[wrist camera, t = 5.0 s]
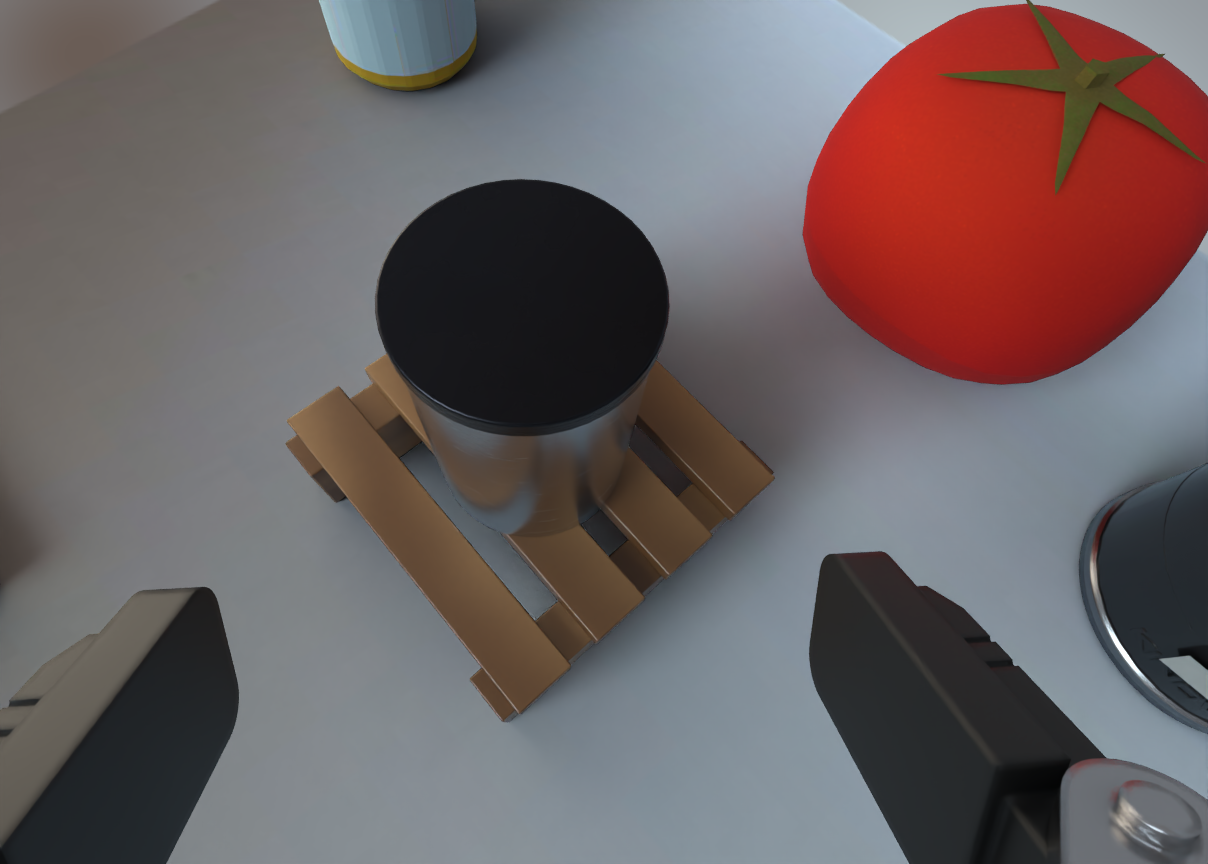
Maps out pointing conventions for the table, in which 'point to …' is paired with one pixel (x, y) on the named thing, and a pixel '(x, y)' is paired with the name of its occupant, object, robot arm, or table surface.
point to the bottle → (402, 39)
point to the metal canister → (524, 345)
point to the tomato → (1010, 193)
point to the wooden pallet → (561, 561)
